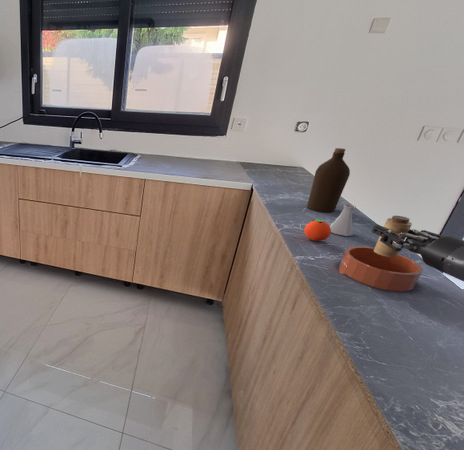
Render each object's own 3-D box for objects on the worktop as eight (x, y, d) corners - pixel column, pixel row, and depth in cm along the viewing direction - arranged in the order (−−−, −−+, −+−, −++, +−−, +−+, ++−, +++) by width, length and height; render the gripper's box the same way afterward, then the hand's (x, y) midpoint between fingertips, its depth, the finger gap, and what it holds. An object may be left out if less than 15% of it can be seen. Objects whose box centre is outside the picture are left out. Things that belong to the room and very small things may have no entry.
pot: (390, 268, 88) (399, 250, 86) (427, 299, 75) (438, 278, 73) (329, 261, 92) (335, 243, 90) (354, 289, 79) (362, 269, 77)
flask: (357, 233, 109) (367, 206, 105) (347, 238, 106) (358, 211, 102) (332, 226, 115) (341, 200, 111) (323, 230, 111) (332, 204, 107)
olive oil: (325, 214, 125) (346, 152, 115) (298, 206, 134) (316, 147, 124) (342, 211, 128) (365, 149, 118) (315, 203, 137) (334, 145, 127)
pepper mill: (390, 250, 82) (406, 215, 78) (401, 258, 78) (418, 221, 74) (369, 248, 83) (384, 213, 79) (379, 256, 79) (395, 220, 75)
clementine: (296, 233, 110) (301, 215, 107) (317, 234, 108) (324, 216, 106) (308, 244, 102) (315, 224, 99) (332, 245, 101) (339, 225, 98)
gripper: (506, 243, 64) (416, 213, 79) (439, 246, 63) (362, 215, 79) (487, 274, 67) (403, 239, 82) (423, 277, 66) (351, 241, 82)
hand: (383, 228), depth 80 cm, fingers closed on pepper mill, 4 cm apart
